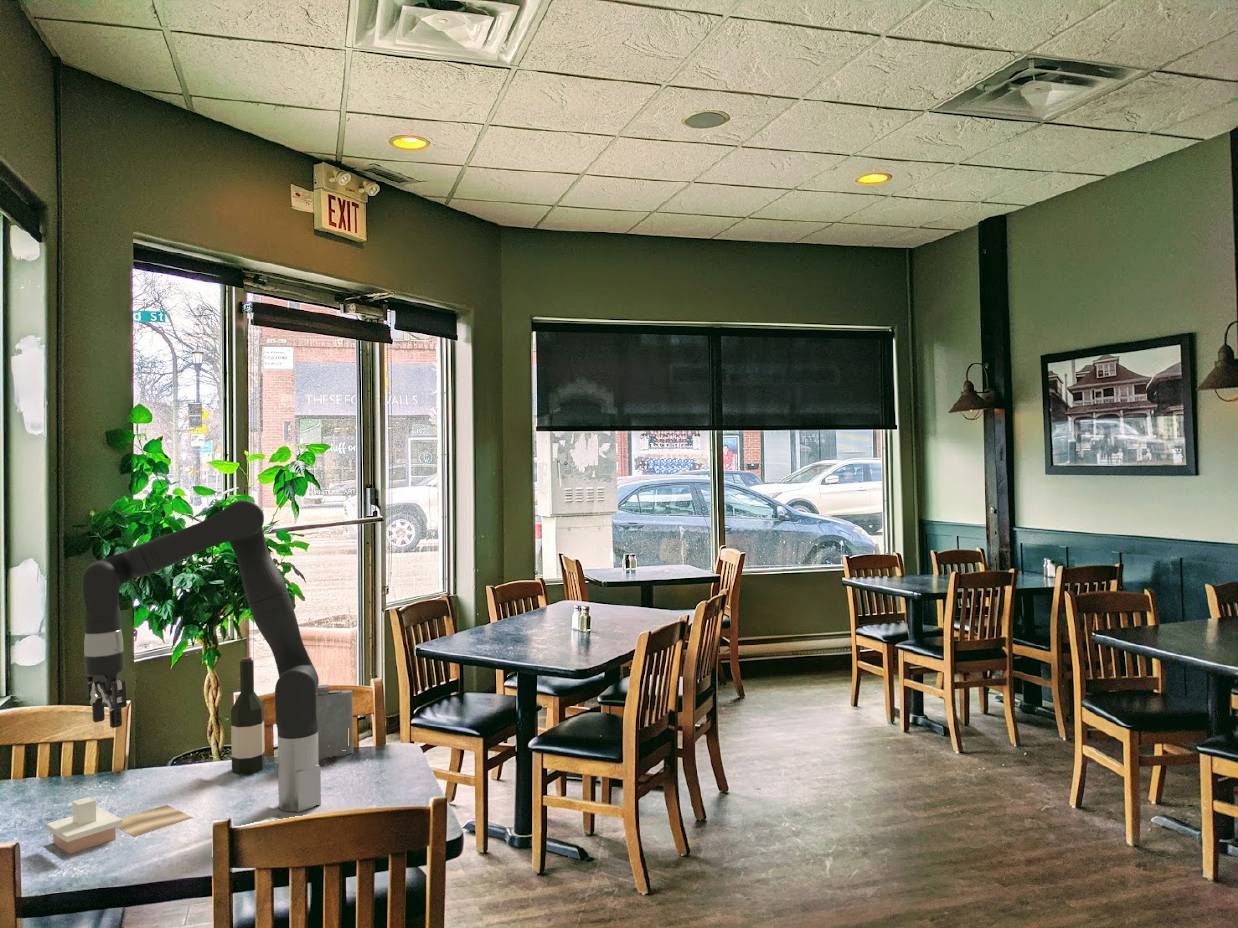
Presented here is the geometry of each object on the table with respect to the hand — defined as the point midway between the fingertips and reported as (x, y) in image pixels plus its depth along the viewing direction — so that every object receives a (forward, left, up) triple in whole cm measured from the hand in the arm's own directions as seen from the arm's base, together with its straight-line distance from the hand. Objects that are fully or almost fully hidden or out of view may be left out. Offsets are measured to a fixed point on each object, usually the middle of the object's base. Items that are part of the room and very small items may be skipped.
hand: (107, 724), depth 198 cm
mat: (-1, -9, -25) cm, 26 cm away
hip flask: (+8, -60, -25) cm, 65 cm away
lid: (-1, +5, -21) cm, 22 cm away
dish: (-1, +5, -25) cm, 25 cm away
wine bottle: (+16, -42, -25) cm, 51 cm away
